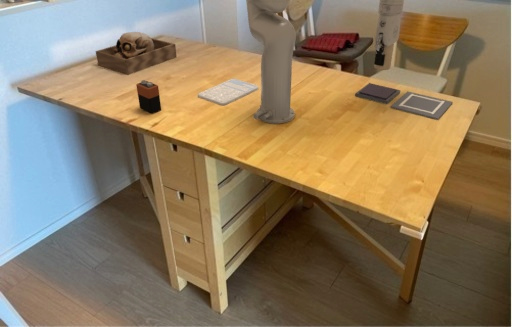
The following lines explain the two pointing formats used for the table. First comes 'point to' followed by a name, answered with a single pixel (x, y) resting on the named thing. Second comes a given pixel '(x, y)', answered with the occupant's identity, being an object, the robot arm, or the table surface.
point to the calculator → (228, 92)
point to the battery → (148, 96)
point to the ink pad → (377, 93)
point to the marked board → (422, 105)
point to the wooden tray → (136, 58)
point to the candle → (386, 58)
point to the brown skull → (133, 45)
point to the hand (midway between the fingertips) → (382, 62)
